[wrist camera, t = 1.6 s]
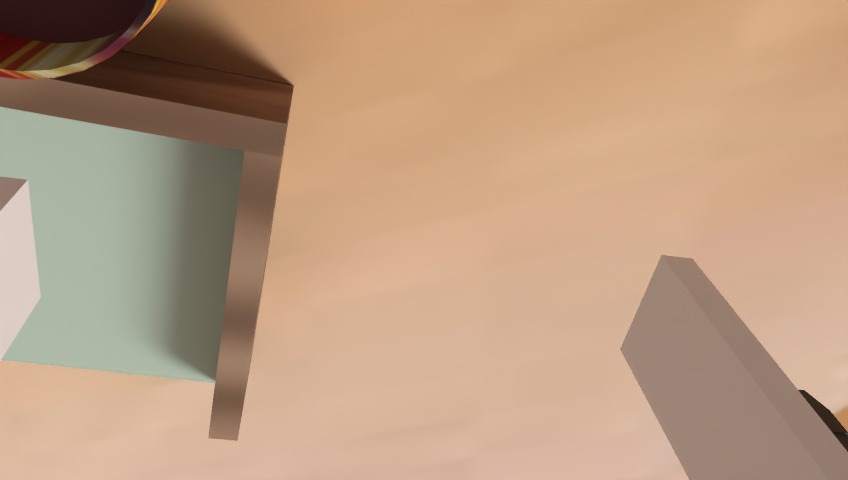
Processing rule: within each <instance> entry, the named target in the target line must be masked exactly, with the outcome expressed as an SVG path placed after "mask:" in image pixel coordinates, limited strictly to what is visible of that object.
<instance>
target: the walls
mask: <svg viewBox="0 0 848 480" xmlns="http://www.w3.org/2000/svg"><path fill="white" fill-rule="evenodd" d="M293 87H294V86H292V85H287V84H282V83H278V82H273V81H268V80H263V79H258V78H253V77H248V76H243V75H238V74H233V73H228V72H223V71H218V70H213V69H208V68H203V67H199V66H194V65H189V64H184V63H179V62H174V61H169V60H164V59H159V58H154V57H149V56H144V55H139V54H134V53H129V52H125V51H120V50H119V51H117V52H116V53H115V54H114V55H113V56H111V57H110V58H108V59H106V60H104V61H102V62H100V63H98V64H96V65H94V66H92V67H90V68H88V69H86V70H84V71H80V72H76V73H72V74H68V75H64V76H60V77H56V78H43V79H24V80H21V79H13V78H5V77H0V107H4V108H10V109H15V110H21V111H27V112H32V113H38V114H43V115H49V116H54V117H60V118H66V119H71V120H77V121H82V122H88V123H93V124H99V125H105V126H110V127H116V128H121V129H127V130H132V131H138V132H143V133H149V134H155V135H160V136H166V137H171V138H177V139H182V140H188V141H194V142H199V143H205V144H210V145H216V146H221V147H227V148H233V149H238V150H244V159H243V167H242V175H241V183H240V191H239V199H238V207H237V215H236V223H235V231H234V239H233V247H232V254H231V262H230V270H229V278H228V286H227V294H226V302H225V310H224V318H223V326H222V334H221V342H220V350H219V358H218V366H217V374H216V382H215V390H214V398H213V406H212V414H211V422H210V429H209V437H208V438H214V439H225V440H236V441H237V440H238V434H239V428H240V422H241V416H242V410H243V404H244V398H245V393H246V387H247V381H248V374H249V368H250V362H251V355H252V349H253V343H254V336H255V330H256V323H257V317H258V311H259V304H260V298H261V291H262V285H263V279H264V272H265V266H266V260H267V253H268V247H269V240H270V234H271V228H272V221H273V215H274V208H275V202H276V196H277V189H278V183H279V177H280V170H281V164H282V157H283V151H284V145H285V138H286V132H287V126H288V119H289V113H290V106H291V100H292V94H293Z"/></svg>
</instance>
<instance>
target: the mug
mask: <svg viewBox="0 0 848 480" xmlns="http://www.w3.org/2000/svg"><path fill="white" fill-rule="evenodd" d="M169 1H170V0H0V77H5V78H13V79H21V80H24V79H43V78H56V77H60V76H64V75H68V74H72V73H76V72H80V71H84V70H86V69H88V68H90V67H92V66H94V65H96V64H98V63H100V62H102V61H104V60H106V59H108V58H110V57H111V56H113V55H114V54H115V53H116V52H117V51H119V50H120V49H121V48H122V47H123V46H124V45H126V44H127V43H128V42H129V41H130V40H132V39H133V38H134V37H135V36H136V35H137V34H138V33H139V32H140V31H141V30H142V29H143V28H144V27H145V26H146V25H147V24H148V22H149V21H150V20H151V19H152V18H153V17H154V16H155V15H156V14H157V13H158V12H159V11H160V10H161V9H162V8H163V7H164V6H165V5H166V4H167V3H168V2H169Z"/></svg>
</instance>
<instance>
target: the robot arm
mask: <svg viewBox="0 0 848 480" xmlns="http://www.w3.org/2000/svg"><path fill="white" fill-rule="evenodd" d="M40 298H41V295H40V286H39V277H38V268H37V259H36V249H35V240H34V231H33V222H32V213H31V204H30V194H29V185H28V180H26V179H17V178H9V177H0V361H1V359H2V358H3V356H4V354H5V353H6V351H7V350H8V348H9V347H10V345H11V343H12V342H13V340H14V339H15V337H16V336H17V334H18V332H19V331H20V329H21V328H22V326H23V325H24V323H25V321H26V320H27V318H28V317H29V315H30V314H31V312H32V310H33V309H34V307H35V306H36V304H37V302H38V301H39V299H40ZM621 351H622V353H623V355H624V357H625V359H626V361H627V363H628V364H629V366H630V368H631V370H632V372H633V374H634V376H635V378H636V380H637V381H638V383H639V385H640V387H641V389H642V391H643V393H644V395H645V397H646V398H647V400H648V402H649V404H650V406H651V408H652V410H653V412H654V414H655V415H656V417H657V419H658V421H659V423H660V425H661V427H662V429H663V431H664V432H665V434H666V436H667V438H668V440H669V442H670V444H671V446H672V448H673V449H674V451H675V453H676V455H677V457H678V459H679V461H680V463H681V465H682V466H683V468H684V470H685V472H686V474H687V476H688V478H689V480H848V432H847V431H846V430H845V428H844V427H843V426H842V425H841V424H840V422H839V421H838V420H837V419H836V417H835V416H834V415H833V414H832V413H831V411H830V410H828V409H827V408H826V407H825V406H823V405H822V404H821V403H820V402H818V401H817V400H816V399H815V398H813V397H812V396H811V395H810V394H808V393H807V392H806V391H805V390H798V389H797V388H796V387H795V386H794V384H793V383H792V382H791V381H790V379H789V378H788V377H787V376H786V374H785V373H784V372H783V371H782V370H781V368H780V367H779V366H778V365H777V363H776V362H775V361H774V360H773V358H772V357H771V356H770V355H769V353H768V352H767V351H766V350H765V348H764V347H763V346H762V345H761V343H760V342H759V341H758V340H757V338H756V337H755V336H754V335H753V333H752V332H751V331H750V330H749V329H748V327H747V326H746V325H745V324H744V322H743V321H742V320H741V319H740V317H739V316H738V315H737V314H736V312H735V311H734V310H733V309H732V307H731V306H730V305H729V304H728V302H727V301H726V300H725V299H724V297H723V296H722V295H721V294H720V292H719V291H718V290H717V289H716V287H715V286H714V285H713V284H712V283H711V281H710V280H709V279H708V278H707V276H706V275H705V274H704V273H703V271H702V270H701V269H700V268H699V266H698V265H697V264H696V263H695V261H694V260H693V259H690V258H682V257H673V256H665V255H661V258H660V260H659V262H658V265H657V267H656V269H655V271H654V274H653V276H652V278H651V281H650V283H649V285H648V287H647V290H646V292H645V294H644V296H643V299H642V301H641V303H640V306H639V308H638V310H637V312H636V315H635V317H634V319H633V322H632V324H631V326H630V328H629V331H628V333H627V335H626V337H625V340H624V342H623V344H622V347H621Z"/></svg>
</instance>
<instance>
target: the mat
mask: <svg viewBox="0 0 848 480" xmlns="http://www.w3.org/2000/svg"><path fill="white" fill-rule="evenodd" d="M243 159H244V150H238V149H233V148H227V147H221V146H216V145H210V144H205V143H199V142H194V141H188V140H182V139H177V138H171V137H166V136H160V135H155V134H149V133H143V132H138V131H132V130H127V129H121V128H116V127H110V126H105V125H99V124H93V123H88V122H82V121H77V120H71V119H66V118H60V117H54V116H49V115H43V114H38V113H32V112H27V111H21V110H15V109H10V108H4V107H0V177H9V178H17V179H26V180H28V185H29V194H30V204H31V213H32V222H33V231H34V240H35V249H36V259H37V268H38V277H39V286H40V295H41V298H40V299H39V301H38V302H37V304H36V306H35V307H34V309H33V310H32V312H31V314H30V315H29V317H28V318H27V320H26V321H25V323H24V325H23V326H22V328H21V329H20V331H19V332H18V334H17V336H16V337H15V339H14V340H13V342H12V343H11V345H10V347H9V348H8V350H7V351H6V353H5V354H4V356H3V358H2V359H1V360H6V361H15V362H24V363H34V364H43V365H52V366H62V367H71V368H80V369H89V370H99V371H108V372H117V373H127V374H136V375H145V376H155V377H164V378H173V379H182V380H192V381H201V382H210V383H215V382H216V374H217V366H218V358H219V350H220V342H221V334H222V326H223V318H224V310H225V302H226V294H227V286H228V278H229V270H230V262H231V254H232V247H233V239H234V231H235V223H236V215H237V207H238V199H239V191H240V183H241V175H242V167H243Z"/></svg>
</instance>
